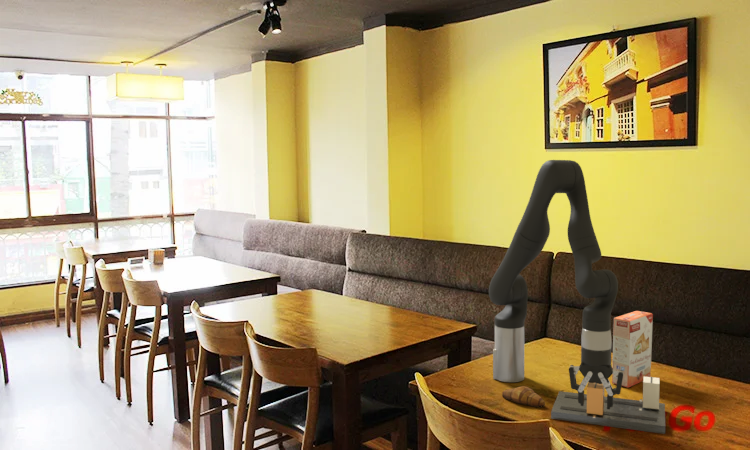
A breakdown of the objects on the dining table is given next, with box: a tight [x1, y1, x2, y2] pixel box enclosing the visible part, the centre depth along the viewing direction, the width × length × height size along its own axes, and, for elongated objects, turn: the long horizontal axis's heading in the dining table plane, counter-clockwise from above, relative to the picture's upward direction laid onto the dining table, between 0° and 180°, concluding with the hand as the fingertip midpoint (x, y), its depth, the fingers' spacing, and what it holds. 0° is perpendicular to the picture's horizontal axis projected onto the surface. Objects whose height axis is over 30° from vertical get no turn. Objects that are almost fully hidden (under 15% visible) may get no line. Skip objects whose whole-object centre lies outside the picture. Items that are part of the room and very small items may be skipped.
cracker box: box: [611, 310, 654, 388], centre depth 200 cm, size 14×6×21 cm, turn 130°
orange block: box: [586, 382, 605, 415], centre depth 172 cm, size 4×5×7 cm
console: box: [550, 390, 666, 435], centre depth 176 cm, size 28×17×2 cm, turn 67°
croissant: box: [501, 385, 546, 408], centre depth 186 cm, size 14×7×5 cm, turn 47°
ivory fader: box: [642, 376, 660, 409], centre depth 175 cm, size 4×5×7 cm
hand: (595, 406), depth 172 cm, fingers open, 6 cm apart
